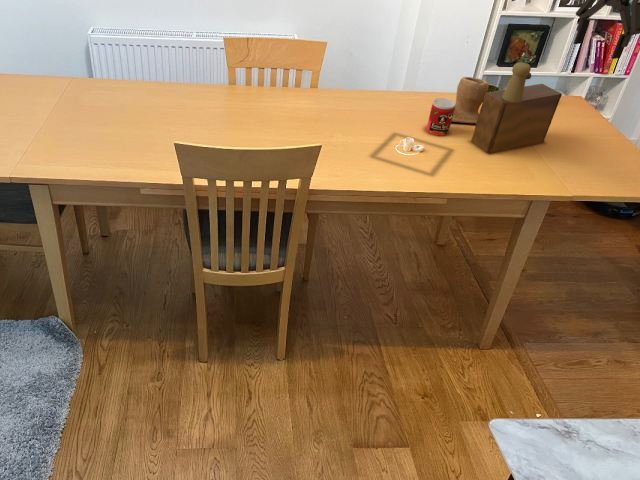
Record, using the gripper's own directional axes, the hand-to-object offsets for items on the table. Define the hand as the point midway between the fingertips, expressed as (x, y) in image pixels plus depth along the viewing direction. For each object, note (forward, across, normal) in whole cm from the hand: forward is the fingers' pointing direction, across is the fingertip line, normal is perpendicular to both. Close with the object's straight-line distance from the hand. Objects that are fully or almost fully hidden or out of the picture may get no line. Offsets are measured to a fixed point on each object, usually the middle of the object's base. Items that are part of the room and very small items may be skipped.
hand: (596, 50), depth 171 cm
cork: (+17, +13, +14) cm, 25 cm away
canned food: (+35, +31, +24) cm, 52 cm away
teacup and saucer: (+35, +20, +42) cm, 59 cm away
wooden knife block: (+24, +10, +7) cm, 27 cm away
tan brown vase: (+35, +36, +9) cm, 51 cm away
